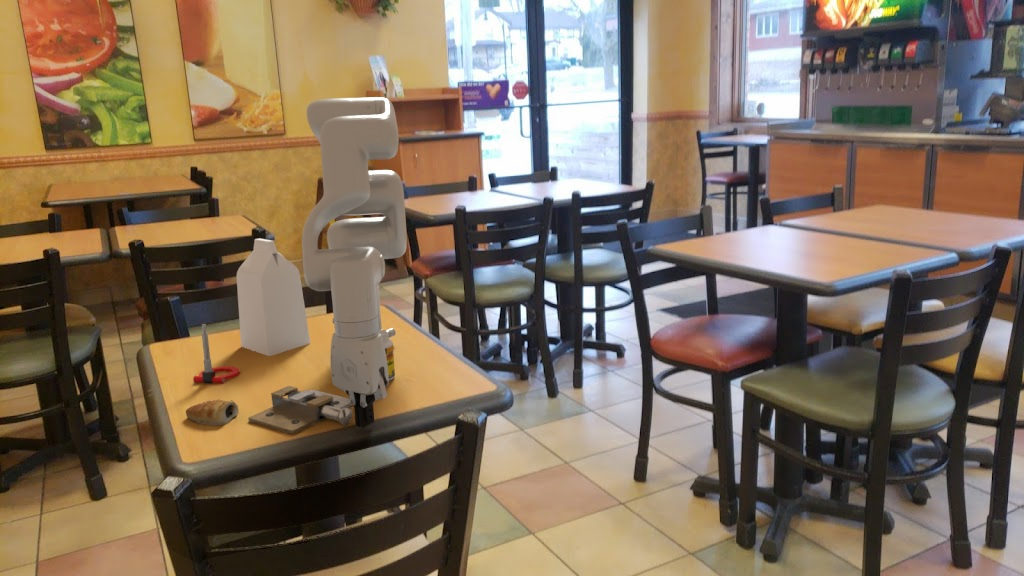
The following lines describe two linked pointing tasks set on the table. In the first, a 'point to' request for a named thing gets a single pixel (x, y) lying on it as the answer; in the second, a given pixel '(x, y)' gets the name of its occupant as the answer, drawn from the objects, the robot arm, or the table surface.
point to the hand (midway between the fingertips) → (365, 424)
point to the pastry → (213, 412)
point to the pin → (334, 413)
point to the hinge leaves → (297, 409)
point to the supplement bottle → (388, 353)
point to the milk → (270, 302)
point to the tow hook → (209, 372)
